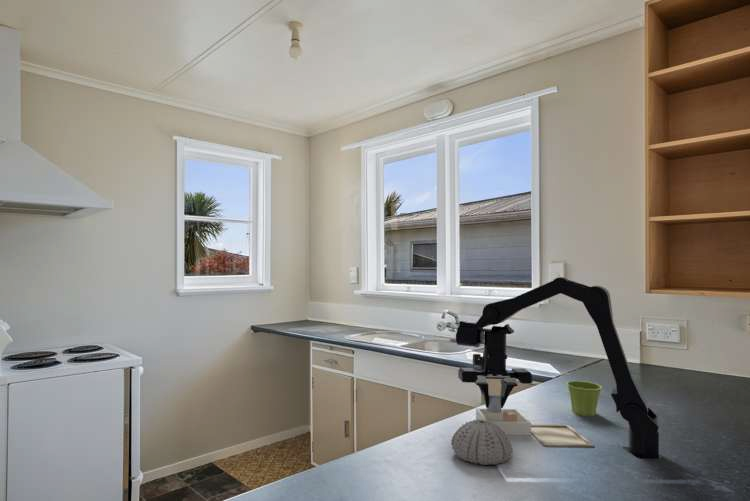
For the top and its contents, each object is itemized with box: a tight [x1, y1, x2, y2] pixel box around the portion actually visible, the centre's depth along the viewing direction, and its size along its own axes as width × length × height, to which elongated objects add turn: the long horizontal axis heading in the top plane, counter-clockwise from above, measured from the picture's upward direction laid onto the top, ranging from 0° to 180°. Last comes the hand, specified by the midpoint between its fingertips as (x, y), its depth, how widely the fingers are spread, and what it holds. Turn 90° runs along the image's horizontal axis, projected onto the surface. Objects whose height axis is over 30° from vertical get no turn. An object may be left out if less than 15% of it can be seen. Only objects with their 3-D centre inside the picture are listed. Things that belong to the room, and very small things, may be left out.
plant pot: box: [566, 380, 603, 417], centre depth 137 cm, size 9×9×9 cm
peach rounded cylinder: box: [503, 411, 518, 422], centre depth 121 cm, size 4×4×4 cm
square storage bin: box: [475, 407, 532, 436], centre depth 123 cm, size 11×11×4 cm
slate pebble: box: [487, 393, 502, 413], centre depth 126 cm, size 4×4×4 cm
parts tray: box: [531, 423, 595, 448], centre depth 117 cm, size 14×12×1 cm
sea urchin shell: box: [450, 419, 513, 466], centre depth 105 cm, size 13×14×8 cm
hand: (494, 407), depth 126 cm, fingers closed on slate pebble, 4 cm apart
